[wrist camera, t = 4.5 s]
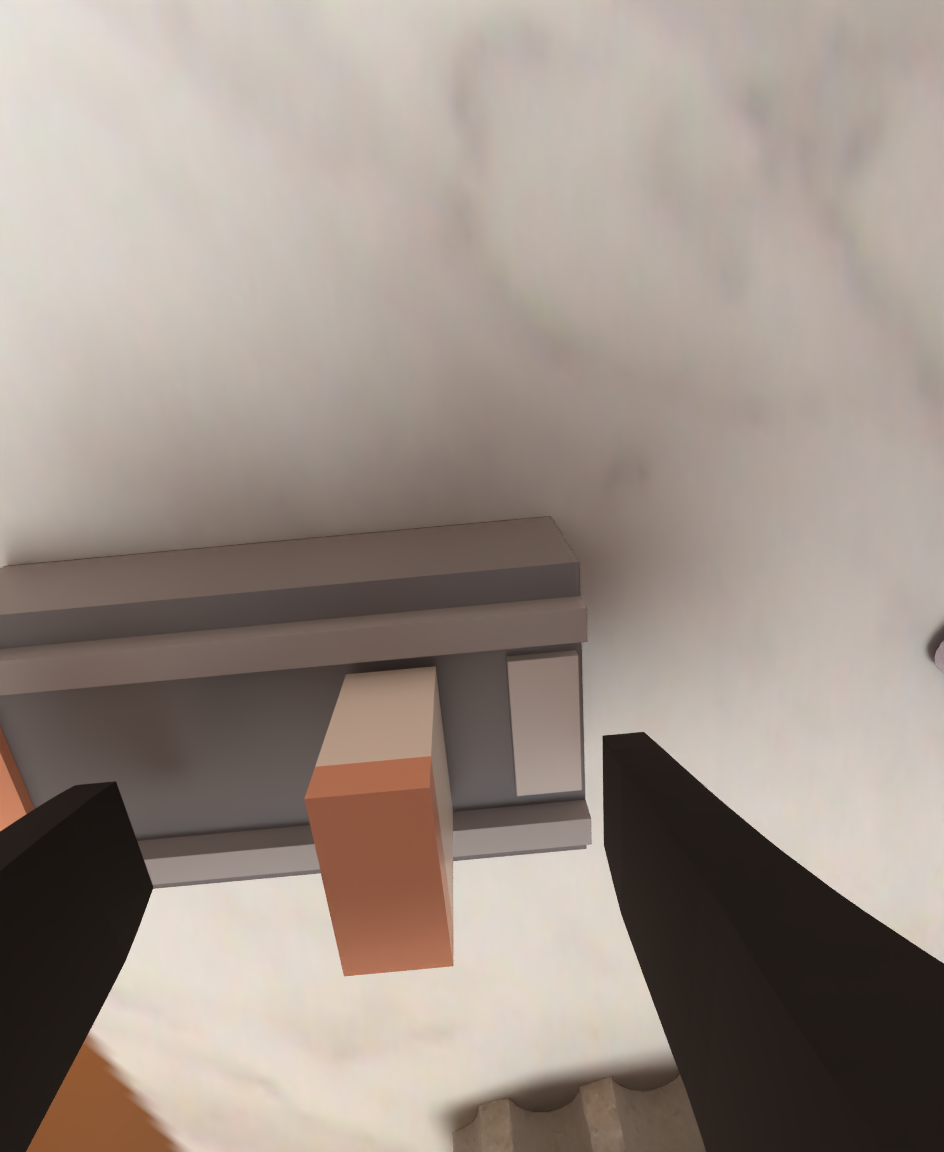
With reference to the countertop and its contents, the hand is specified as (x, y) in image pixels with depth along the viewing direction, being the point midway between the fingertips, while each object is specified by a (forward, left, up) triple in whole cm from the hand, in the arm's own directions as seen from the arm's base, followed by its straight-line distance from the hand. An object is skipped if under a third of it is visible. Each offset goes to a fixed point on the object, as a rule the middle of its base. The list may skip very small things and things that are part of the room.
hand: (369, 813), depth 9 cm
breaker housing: (+1, -2, -5) cm, 5 cm away
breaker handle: (0, 0, -2) cm, 2 cm away
